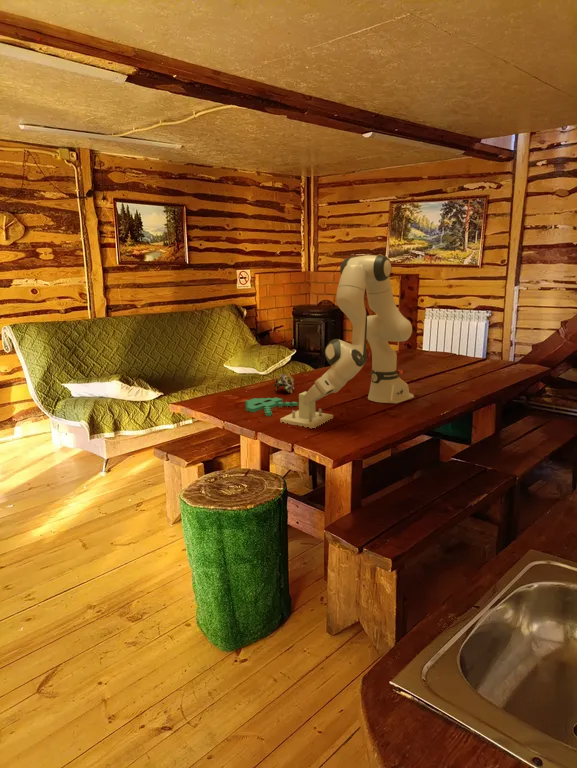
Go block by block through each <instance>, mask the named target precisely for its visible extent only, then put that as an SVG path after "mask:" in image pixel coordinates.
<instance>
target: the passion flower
mask: <svg viewBox="0 0 577 768" xmlns="http://www.w3.org/2000/svg"><path fill="white" fill-rule="evenodd" d="M278 375H279V376H280V378H275V379H274V381H275V384H273V385H272V388H275V392H277V391H278V389H280V387H283V389H284V390H285V391H286V392H287V393H288V394H289V393H290V394H293V390H295V387H294V386H295V383H294V382H295V379H294V378H293V375H288V374H285V373H283V374H281V372H279V374H278Z"/></svg>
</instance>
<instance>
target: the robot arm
mask: <svg viewBox="0 0 577 768" xmlns="http://www.w3.org/2000/svg"><path fill="white" fill-rule="evenodd" d="M339 268H340V269H339V271H340V278H339V281H338V285H337V289H336V290H337V291H336V296H335V298H336V299H335V301H336V305H337V306H338V308H339V309H340V311H341V312H343V314H344V315H345V316H346V317H347V318H348V320H349V321H350V323H351V326H352V336H351V343H349V342H347V341H344V340H342V339H338V338H334V339H332V340H330V341H329V342H328V343H327V345H326V346H325V348H324V355H325V359H326V361H327V362H328V364H329V365H330V368H329V369H328V370H327V371H326V372H325V373H323V374H322V375H321V376H320V377H319V378H317V379H316V380H315V381H314V384H313V385H312V386H311V387H310V388H309V389H308V391H306V392H307V393H306V394H305V395H304V398H305V401H304V402H303V404H304V405H305V406H307V405H308V404H309V403H311V402H313V401H315V400H316V401H319V400H321V399H322V398H323V397H326V396H328V395H329V394H330V395H331V394H332V393H333V394H336V393H338V392H339V391H340V390H341V389H342V388H343V387H344V386H345V385H346V384H347V383H348V381H350V380H352V379H353V378H354V377H355V376H357V374H358V373H359V372H360V371H361V370H362V369H363V368H364V367H365V365H366V364H367V361H368V354H367V353H368V352H367V342H368V344H369V347H370V350H371V358H372V359H371V362H372V363H371V364H372V365H371V367H372V368H371V369H370V378H371V381H370V387H369V391H368V396H367V400H368V401H372V402H375V403H382V404H383V403H384V404H385V403H386V404H399V403H402V402H404V401H407V400H412V399H414V398H415V395H414V394H413V393H410V388H409V384H408V383H407V382H406V381H404V380H403V379H402V378H400V375H403V373H404V371H403V370H402V369H398V370H397V361H398V359H397V358H398V356H397V351H396V350H395V349H393V348H392V346H390V344H389V342H395V343H398V342H406V341H408V340H409V339H410V337H411V336H412V334H413V325H412V323H411V321H410V320H409V319H407V318H406V317H405V316H404V315H403V314H402V313H401V311H400V310H399V308H398V307H397V305H396V301H395V299H394V293H393V289H392V283H391V280H390V276H391V274H392V262H391V260H390V259H389V258H388V256H385V255H381V254H379V255H378V254H377V255H373V254H370V255H369V254H368V255H366V254H365V255H361V256H350V257H347V258H344V259H343V261H342V262H341V264H340V266H339ZM365 292H366V297H367V298H366V299H367V302H368V307H369V309H370V310H371V311H372V312H374V313H375V314H373V315H368V314H367V309H366V307H365Z"/></svg>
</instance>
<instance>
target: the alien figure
mask: <svg viewBox="0 0 577 768" xmlns="http://www.w3.org/2000/svg"><path fill="white" fill-rule="evenodd" d="M283 400H284V399H283V398H279V397H276V396H275V397H273V398H271V397H266V398H265V397H260V398H255V397H253V398H251V399H248V400H245V412H248V411H250V412H249V413H252V412H254V413H256V411H257V412H259V411H258V410H260V411H262V410H261V409H263V413H265V414H264V416H265V415H266V416H265V417H268V416H269V417H271V415H272V416H273V411H272V410H273V409H274V408H273V407H275V408H277V407H276V406H279V407H278V408H280V407H281V408H283V407H282V406H287V407H286V408H289V407H288V406H290V407H292V406H297V407H299V401H298V402H297V401H292V402H290V401H286V402H284V401H283ZM271 408H272V409H271Z"/></svg>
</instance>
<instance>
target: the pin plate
mask: <svg viewBox="0 0 577 768" xmlns="http://www.w3.org/2000/svg"><path fill="white" fill-rule="evenodd" d="M322 410H323V409H322V408H318V411H315V417H313V418H312V414H311V413H310V414H309V419H305V418H299V409H297V410H291V411H292V412H291V413H289V414H287V415H285V416H283V417H281V418H279V419H280V423H282V422H284V423H283V424H287V423H288V425H293V426H297V425H298V427H302V426H304V427H303V428H307V427H309V428H308V429H312V428H315V429H317V428H318V427H320V426H321V424H322V425H323V423H324V424H325V422H326V421H327V422H329V421H331V420H333V419H334V414H330V413H324V412H322ZM330 419H331V420H330ZM328 420H329V421H328ZM327 422H326V423H327ZM319 425H320V426H319ZM317 426H318V427H317ZM316 427H317V428H316Z"/></svg>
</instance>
